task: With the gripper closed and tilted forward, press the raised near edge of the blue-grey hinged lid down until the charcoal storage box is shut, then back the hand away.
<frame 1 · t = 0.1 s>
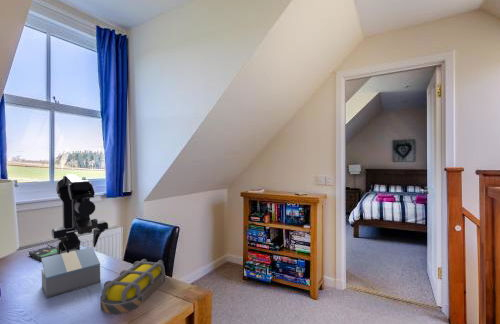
hand: (81, 249, 108), 15 cm above the table, tool pointing down, fingers open, 9 cm apart
lid: (71, 261, 108), point 9 cm above the table, hinge at 18.0°
cage light: (136, 292, 104), on the table
disk drive: (46, 256, 140), on the table
storage box: (71, 284, 109), on the table
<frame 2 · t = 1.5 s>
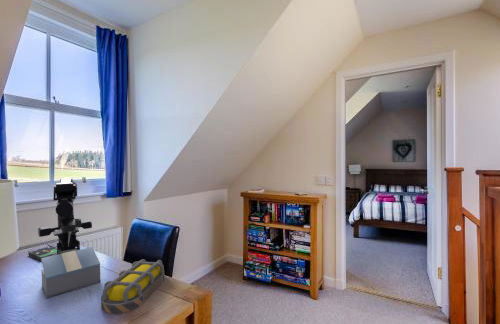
hand: (66, 247, 115), 13 cm above the table, tool pointing down, fingers closed
nothing on the table moved.
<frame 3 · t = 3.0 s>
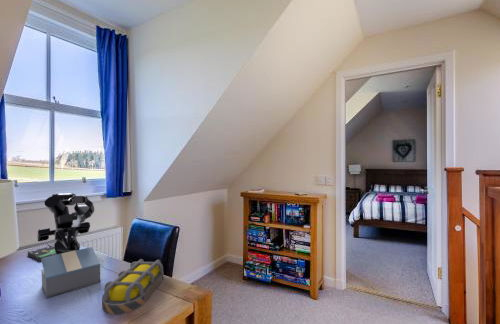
hand: (67, 247, 113), 14 cm above the table, tool tilted 45°, fingers closed
nothing on the table moved.
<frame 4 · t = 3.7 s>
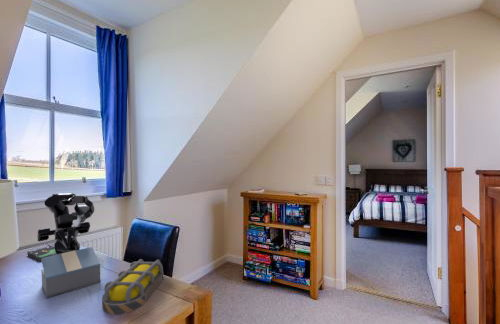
hand: (67, 247, 113), 14 cm above the table, tool tilted 45°, fingers closed
nothing on the table moved.
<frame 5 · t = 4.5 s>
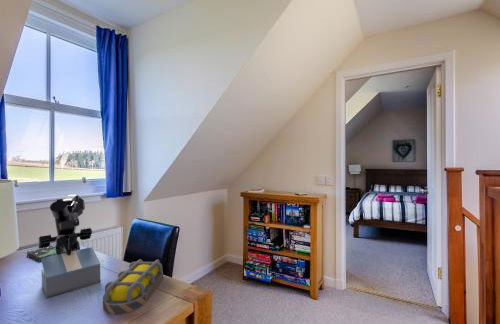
hand: (69, 254, 111), 11 cm above the table, tool tilted 45°, fingers closed, pressing on lid
lid: (71, 261, 108), point 9 cm above the table, hinge at 17.9°, touching gripper
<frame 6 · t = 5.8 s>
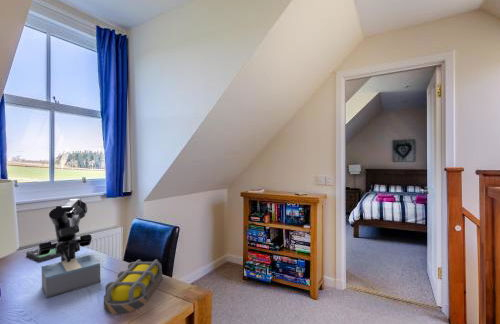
hand: (69, 261, 111), 8 cm above the table, tool tilted 45°, fingers closed, pressing on lid
lid: (71, 265, 109), point 8 cm above the table, hinge at 0.5°, touching gripper
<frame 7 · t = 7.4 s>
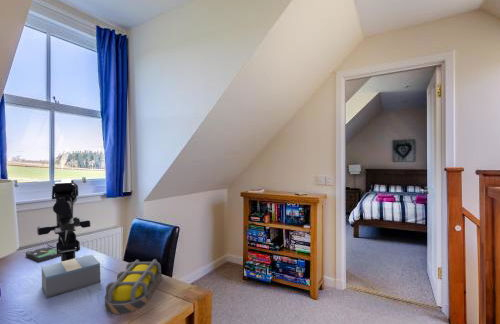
hand: (65, 245, 116), 13 cm above the table, tool pointing down, fingers closed
lid: (71, 265, 109), point 8 cm above the table, hinge at 0.4°
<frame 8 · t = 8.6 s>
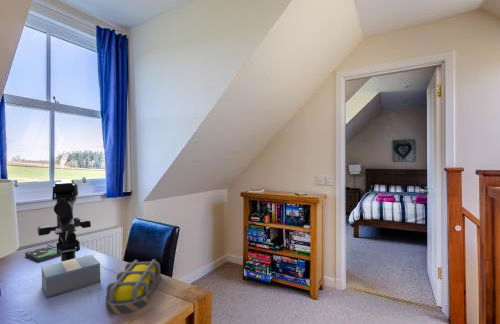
hand: (65, 246, 117), 13 cm above the table, tool pointing down, fingers closed
at the end: lid at +0° (first picture: +18°) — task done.
